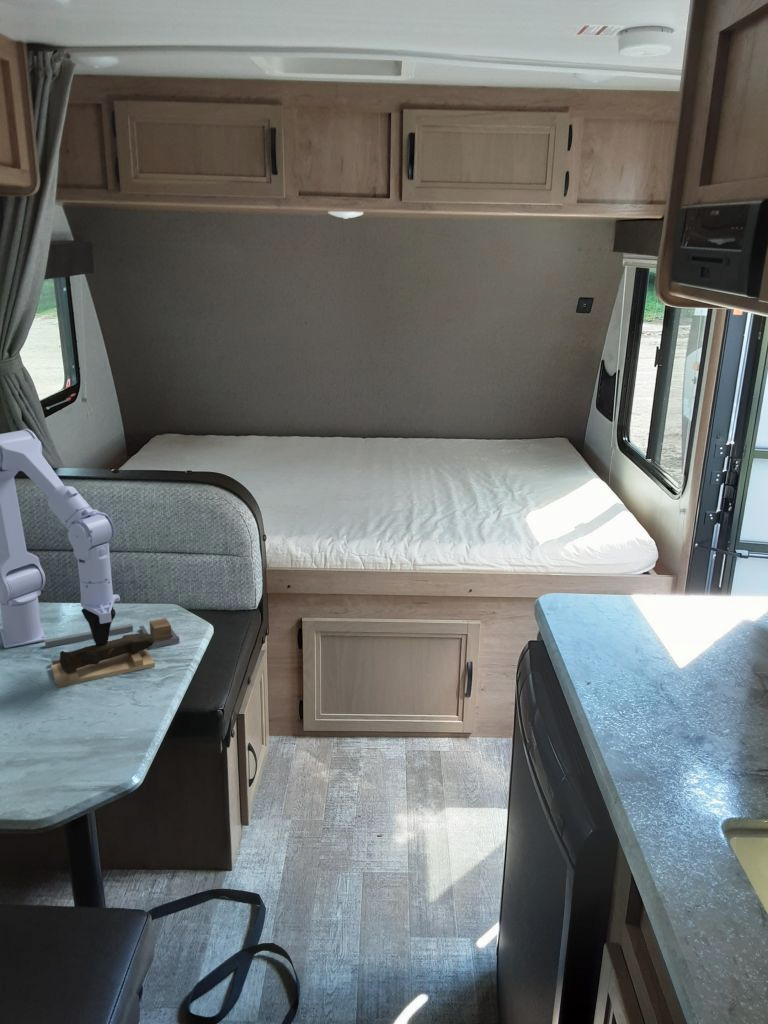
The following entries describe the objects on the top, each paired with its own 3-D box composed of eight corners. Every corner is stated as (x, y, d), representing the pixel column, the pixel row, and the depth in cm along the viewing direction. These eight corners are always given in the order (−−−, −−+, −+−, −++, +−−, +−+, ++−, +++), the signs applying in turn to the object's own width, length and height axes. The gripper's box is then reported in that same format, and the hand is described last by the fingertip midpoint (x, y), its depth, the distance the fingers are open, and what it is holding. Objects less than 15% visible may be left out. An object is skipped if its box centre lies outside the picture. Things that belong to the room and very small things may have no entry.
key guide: (139, 629, 173) (139, 624, 173) (166, 624, 176) (166, 619, 176) (151, 648, 165) (151, 643, 165) (179, 642, 168) (179, 637, 167)
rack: (50, 669, 156) (49, 659, 155) (144, 649, 164) (144, 641, 164) (57, 687, 149) (56, 677, 148) (154, 666, 158) (154, 657, 157)
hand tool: (57, 669, 151) (69, 678, 148) (57, 649, 150) (69, 658, 147) (147, 645, 165) (159, 653, 162) (147, 627, 164) (160, 635, 161)
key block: (150, 636, 170) (149, 621, 169) (166, 633, 172) (165, 618, 171) (155, 643, 167) (154, 628, 166) (171, 640, 168) (170, 625, 167)
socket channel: (45, 645, 165) (44, 640, 165) (131, 628, 173) (131, 623, 173) (53, 666, 156) (52, 661, 156) (143, 648, 165) (143, 643, 165)
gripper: (126, 587, 147) (131, 654, 151) (109, 562, 159) (114, 625, 163) (85, 594, 144) (92, 662, 148) (71, 568, 156) (77, 632, 160)
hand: (101, 643), depth 155 cm, fingers closed, pressing on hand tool
